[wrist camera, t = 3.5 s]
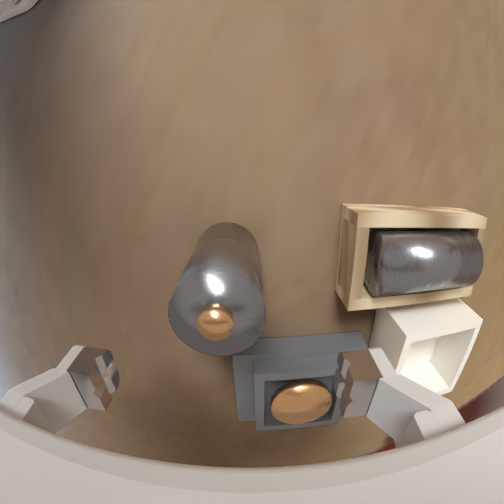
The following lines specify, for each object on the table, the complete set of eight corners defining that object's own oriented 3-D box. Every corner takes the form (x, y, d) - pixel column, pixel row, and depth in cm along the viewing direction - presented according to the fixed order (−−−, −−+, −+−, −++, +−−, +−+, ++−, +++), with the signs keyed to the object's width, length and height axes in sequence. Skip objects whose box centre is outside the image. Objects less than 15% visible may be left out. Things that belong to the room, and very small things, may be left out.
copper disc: (270, 418, 21) (270, 426, 20) (271, 381, 19) (271, 389, 18) (325, 413, 21) (327, 420, 20) (333, 376, 19) (336, 383, 18)
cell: (199, 280, 20) (173, 363, 12) (194, 223, 18) (157, 281, 10) (258, 278, 20) (266, 363, 12) (257, 221, 18) (266, 278, 10)
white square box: (361, 372, 23) (379, 411, 18) (378, 299, 21) (406, 336, 16) (428, 358, 23) (451, 391, 19) (450, 291, 21) (483, 319, 16)
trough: (335, 289, 20) (347, 311, 17) (341, 203, 18) (358, 213, 15) (450, 279, 20) (470, 295, 18) (463, 208, 18) (487, 217, 15)
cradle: (238, 405, 24) (237, 434, 21) (232, 339, 21) (231, 369, 18) (343, 396, 24) (352, 423, 21) (359, 331, 22) (374, 357, 18)
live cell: (359, 279, 19) (382, 308, 15) (365, 223, 18) (393, 241, 14) (451, 272, 19) (480, 294, 15) (460, 224, 18) (493, 240, 14)
